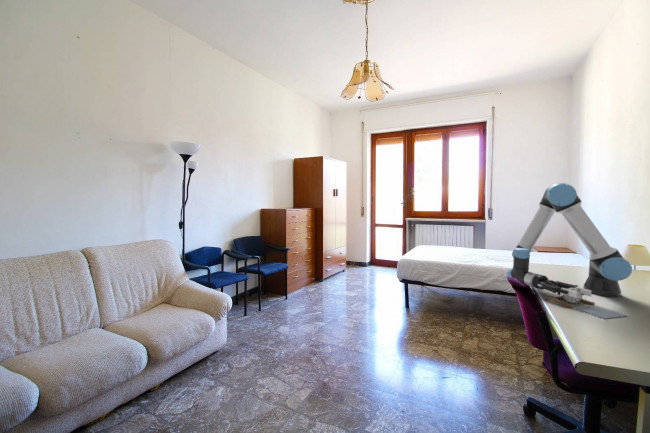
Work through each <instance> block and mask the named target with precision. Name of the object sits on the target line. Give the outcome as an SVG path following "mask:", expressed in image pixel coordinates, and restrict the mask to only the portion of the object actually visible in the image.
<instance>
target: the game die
mask: <svg viewBox="0 0 650 433" xmlns="http://www.w3.org/2000/svg"><path fill="white" fill-rule="evenodd" d="M566 289H569V290H572V291H576V292H577V298H575V297H571V296H568V295H565V294H562V295H560V296H561V297H564V299H565V300H564V302H567V303H569V304H572V305H573V304H577V305H579V304H580V301H581V300H582V299H583V296H585V295H584V294H582V293H581V292H580V291H579V290H580V289H579V290H578V289H575V288H574V286H573V288H567V287H566ZM582 301H584V300H582Z"/></svg>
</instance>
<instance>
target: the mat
mask: <svg viewBox="0 0 650 433" xmlns="http://www.w3.org/2000/svg"><path fill="white" fill-rule="evenodd" d="M575 309H576V311H578V310H579V311H578V312H581V311H582V312H581V313H584V312H585V313H584V314H587V313H588V314H587V315H590V314H591V316H593V315H594V316H593V317H596V316H598V317H597V318H599V317H600V318H599V319H602V318H603V320H609V319H618V318H625V317H628V315H627V314H625V313H620V312H618V311H614V310H612V309H611V310H610V309H607V308H604V307H600V306H598V305H594V306H590V305H588V306H581V307H578V306H577V307H573V310H575Z"/></svg>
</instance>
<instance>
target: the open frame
mask: <svg viewBox="0 0 650 433" xmlns="http://www.w3.org/2000/svg"><path fill="white" fill-rule="evenodd" d="M561 296H562V295H559V296H552V297H550V296H546V297H545V301H547V302H550V303H553V304H556V305H559V306H561V307H565V308H567V309H574V304H573V303H572V304H571V303H570V302H567V301H565V299H564V297H561ZM582 300H584V301H582ZM582 300H581V301H580V302H579V304H580V303H581V304H584V305H588V306H595V302H594V301H591V300H587V299H585V298H582Z"/></svg>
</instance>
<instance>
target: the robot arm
mask: <svg viewBox="0 0 650 433" xmlns="http://www.w3.org/2000/svg"><path fill="white" fill-rule="evenodd" d="M581 205H582V200H581V198H580V197H579V195H578V193H577V191H576V188H575V187H574V186H572V185H570V184H568V183H565V182H559V183H555V184H552V185H550V186H548V187H547V188H546V189H545V191H544V193H543V196H542V197H541V200H540V202H539V204H538V206H539V208H538V209H537V211H536V213H535V214H534V216H533V218H532V220H531V221H530V223H529V224H528V226H527V228H526V230H525V231H524V233H523V235H522V237H521V238H520V240H519V242H518V243H517V245H516V246H515V248H514V249H513V251H512V252H511V256H512V258H513V260H512V262H513V266H512V267H510V268H509V269H508V271H507V278H508V277H511V278H516V279H517V280H518V281H520V282H521V283H524V284H523V285H525V284H526V285H525V286H529V288H535V289H538V290H543V291H544V290H545V291H549V292H550V293H553V294H556V293H557V295H559V296H561V294H562V295H563V294H565V295H568V296H571V297H575V298H577V292H576V291H572V290H569V289H566V287H567V288H573V286H574V288H575V289H578V290H579V289H580V290H579V291H580V292H581V293H582V294H584V295H583V296H586V297H592V294H594V295H598V296H604V297H613V298H614V297H615V298H619V297H622V290H621V287H620V284H619V282H620V281H623V280H626V279H628V278H629V277H630V276H631V274H632V273H633V268H632V267H633V266H632V264H631V263H630V262H629V261H628V260H627V259H626V258H624V257H623V256H622V254H621V252H620V251H619V250H618V248H615V247H612V246H611V245H610V244H609V243H608V241H607V240H606V238H605V237H604V235H602V233H601V232H600V230H599V229H598V228H597V226H596V225H595V223H594V222H593V221H592V219H591V218H590V216H588V214H587V213H586V211H585V210H584V209H583V207H582V206H581ZM555 213H557V214H562V216H563V217H564V219H565V221H566V222H567V223H568V224H569V225H570V228H571V229H572V230H573V232H574V233H575V234H576V236H577V237H578V238H579V240H580V241H581V242H582V244H583V246H584V247H585V249H586V250H587V251H588V252H589V263H588V264H589V265H588V276H587V278H586V281H585V282H584V283H583V286H582V287H579V286H578V284H575V285H574V284H571V283H567V282H562V281H559V280H556V281H555V280H552V279H549V277H548V276H547V275H544V274H539V273H536V272H532V271H530V270H529V269H530V258H531V255H530V254H531V252H532V250H533V249H534V247H535V246H536V244H537V242H538V240H539V239H540V237H541V236H542V233H543V232H544V231H545V229H546V228H547V226H548V224H549V222H550V221H551V219H552V217H553V216H554V214H555ZM521 283H520V284H521Z"/></svg>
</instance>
